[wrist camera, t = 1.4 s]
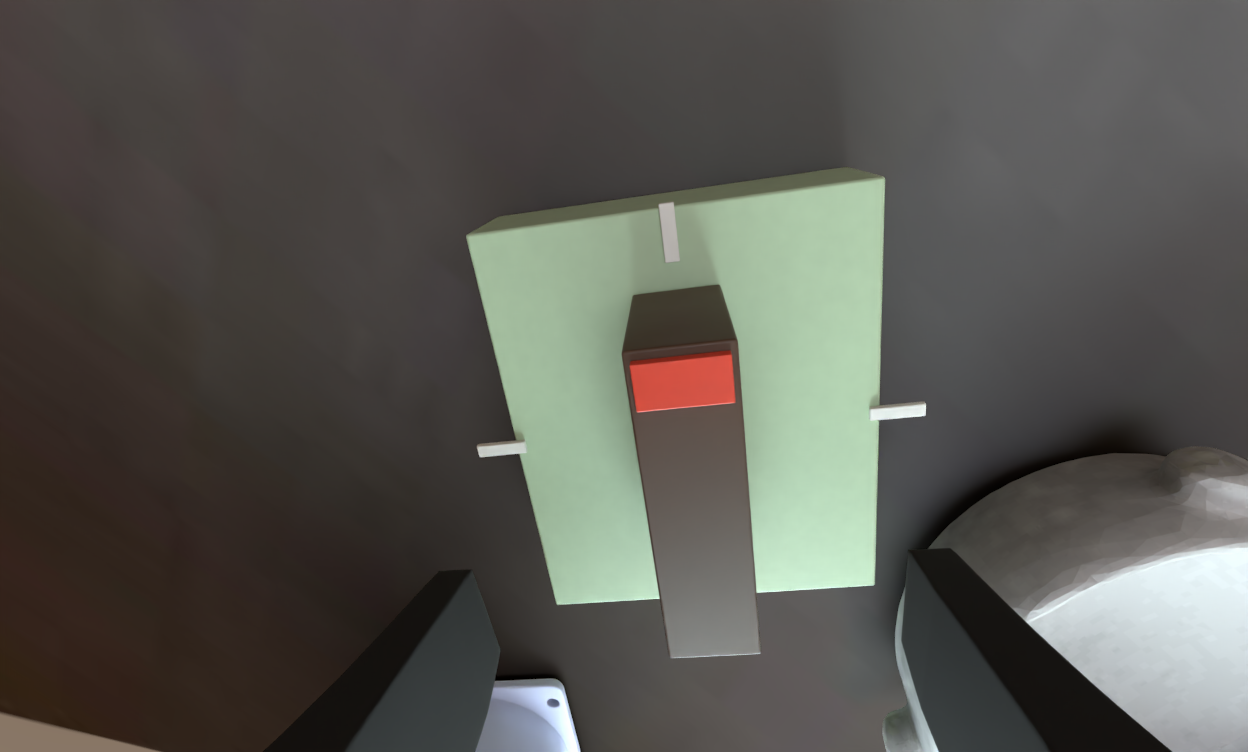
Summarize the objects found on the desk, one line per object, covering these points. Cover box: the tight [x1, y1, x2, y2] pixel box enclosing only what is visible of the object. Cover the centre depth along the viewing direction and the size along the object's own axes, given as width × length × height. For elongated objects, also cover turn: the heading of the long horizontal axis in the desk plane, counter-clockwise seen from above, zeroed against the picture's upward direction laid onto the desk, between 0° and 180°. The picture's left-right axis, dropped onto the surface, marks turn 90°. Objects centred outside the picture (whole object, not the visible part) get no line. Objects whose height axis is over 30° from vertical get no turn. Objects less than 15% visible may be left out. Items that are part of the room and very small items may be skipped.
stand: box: [466, 167, 926, 605], centre depth 18 cm, size 12×12×3 cm
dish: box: [883, 446, 1248, 752], centre depth 19 cm, size 14×14×5 cm
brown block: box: [621, 285, 761, 658], centre depth 14 cm, size 8×2×4 cm, turn 8°
